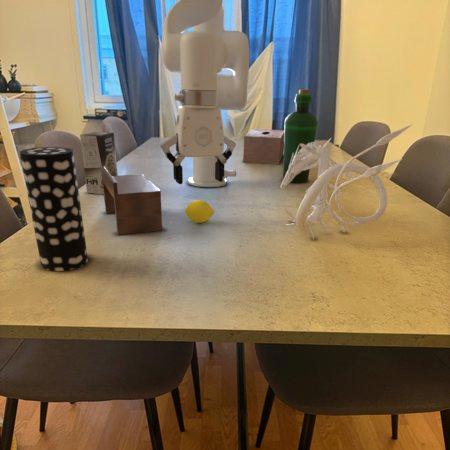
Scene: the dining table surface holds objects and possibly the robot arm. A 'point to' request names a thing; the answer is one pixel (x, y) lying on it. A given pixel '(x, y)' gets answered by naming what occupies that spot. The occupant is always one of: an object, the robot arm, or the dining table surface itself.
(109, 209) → the shelf
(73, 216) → the spotted tube
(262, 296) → the dining table surface
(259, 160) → the tissue box cover
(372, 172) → the serpentine dragon sculpture
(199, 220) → the lemon
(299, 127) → the bottle
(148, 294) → the dining table surface
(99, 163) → the coffee box
